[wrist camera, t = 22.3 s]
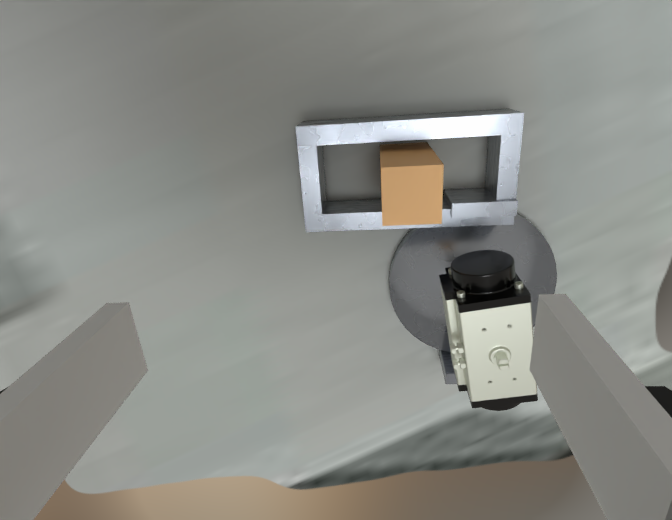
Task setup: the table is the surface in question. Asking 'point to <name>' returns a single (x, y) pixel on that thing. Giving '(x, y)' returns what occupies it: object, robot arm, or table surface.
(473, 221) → the grey rectangular frame
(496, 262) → the pneumatic valve
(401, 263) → the grey disc
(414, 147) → the tan rectangular block
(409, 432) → the table surface
